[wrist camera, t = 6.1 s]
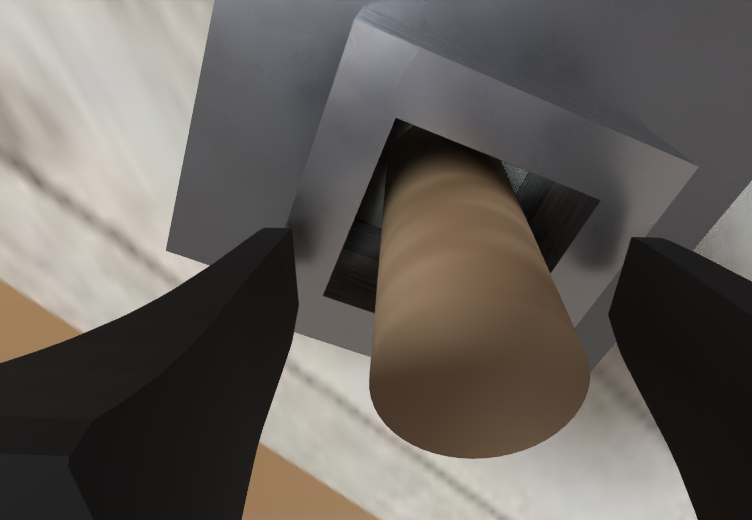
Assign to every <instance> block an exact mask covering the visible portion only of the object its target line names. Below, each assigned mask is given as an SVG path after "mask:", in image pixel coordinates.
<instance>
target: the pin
mask: <svg viewBox="0 0 752 520" xmlns="http://www.w3.org/2000/svg"><path fill="white" fill-rule="evenodd" d="M589 380H590V369H589V363H588V359H587V355H586V353H585V351H584V348H583V346H582V344H581V342H580V339H579V337H578V335H577V333H576V330H575V328H574V326H573V324H572V321H571V319H570V317H569V315H568V312H567V310H566V308H565V306H564V303H563V301H562V299H561V297H560V294H559V292H558V290H557V288H556V285H555V283H554V281H553V279H552V276H551V274H550V272H549V270H548V267H547V265H546V263H545V261H544V258H543V256H542V254H541V252H540V249H539V247H538V245H537V242H536V240H535V238H534V236H533V233H532V231H531V229H530V227H529V224H528V222H527V220H526V218H525V215H524V213H523V211H522V209H521V206H520V204H519V202H518V200H517V197H516V195H515V193H514V191H513V188H512V186H511V184H510V182H509V179H508V177H507V175H506V173H505V170H504V168H503V166H502V164H501V161H500V159H497V158H495V157H492V156H490V155H487V154H485V153H482V152H480V151H477V150H475V149H472V148H470V147H468V146H465V145H463V144H460V143H458V142H455V141H453V140H450V139H448V138H445V137H443V136H440V135H438V134H435V133H433V132H430V131H428V130H425V129H423V128H420V127H418V126H415V125H414V126H413V127H411V128H410V129H409V130H407V131H406V132H405V133H404V134H403V135H402V136H401V137H400V138H399V139H398V141H397V142H396V143H395V145H394V147H393V149H392V151H391V153H390V156H389V159H388V163H387V172H386V184H385V196H384V208H383V220H382V232H381V244H380V256H379V268H378V280H377V292H376V305H375V317H374V329H373V341H372V353H371V365H370V377H369V389H370V395H371V399H372V402H373V405H374V408H375V409H376V411H377V413H378V415H379V417H380V418H381V419H382V420H383V422H384V423H385V424H386V425H387V426H388V427H389V428H390V429H391V430H392V431H393V432H394V433H395V434H397V435H398V436H399V437H401V438H402V439H403V440H405V441H407V442H409V443H410V444H412V445H414V446H416V447H419V448H421V449H423V450H426V451H429V452H432V453H435V454H440V455H444V456H449V457H456V458H471V459H475V458H491V457H499V456H504V455H508V454H513V453H516V452H519V451H522V450H525V449H528V448H530V447H533V446H535V445H537V444H539V443H541V442H543V441H545V440H547V439H548V438H550V437H551V436H553V435H554V434H556V433H557V432H558V431H560V430H561V429H562V428H563V427H564V426H566V425H567V423H568V422H569V421H570V420H571V419H572V418H573V417H574V416H575V414H576V413H577V412H578V410H579V409H580V407H581V405H582V403H583V401H584V399H585V397H586V394H587V391H588V388H589Z"/></svg>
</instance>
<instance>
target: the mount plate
mask: <svg viewBox="0 0 752 520" xmlns="http://www.w3.org/2000/svg"><path fill="white" fill-rule="evenodd" d="M395 118H398V119H400V120H403V121H405V122H408V123H410V124H413V125H415V126H418V127H420V128H423V129H425V130H428V131H430V132H433V133H435V134H438V135H440V136H443V137H445V138H448V139H450V140H453V141H455V142H458V143H460V144H463V145H465V146H468V147H470V148H472V149H475V150H477V151H480V152H482V153H485V154H487V155H490V156H492V157H495V158H497V159H500V160H502V161H505V162H507V163H510V164H512V165H515V166H517V167H520V168H522V169H525V170H527V171H529V173H528V175H527V176H526V178H525V180H524V182H523V183H522V185H521V187H520V188H519V190H518V192H517V194H516V197H517V200H518V202H519V204H520V206H521V209H522V211H523V213H524V215H525V218H526V220H527V222H528V224H529V227H530V229H531V231H532V233H533V236H534V238H535V240H536V242H537V245H538V247H539V249H540V252H541V254H542V256H543V258H544V261H545V263H546V265H547V267H548V270H549V272H550V274H551V276H552V279H553V281H554V283H555V285H556V288H557V290H558V292H559V294H560V297H561V299H562V301H563V303H564V306H565V308H566V310H567V312H568V315H569V317H570V319H571V321H572V324H573V326H574V328H575V330H576V333H577V335H578V337H579V339H580V342H581V344H582V346H583V348H584V351H585V353H586V355H587V359H588V363H589V369H590V372H591V371H592V369H593V368H594V367H595V366H596V365H597V363H598V362H599V361H600V360H601V359H602V357H603V356H604V355H605V354H606V353H607V351H608V350H609V349H610V348H611V347H612V346H613V344H614V343H615V342H616V339H615V336H614V333H613V330H612V326H611V323H610V320H609V317H608V313H609V310H610V306H611V303H612V300H613V296H614V293H615V290H616V286H617V283H618V280H619V276H620V273H621V270H622V266H623V263H624V260H625V256H626V253H627V250H628V246H629V243H630V240H631V237H654V238H663V239H666V240H669V241H671V242H674V243H676V244H678V245H681V246H683V247H685V248H687V249H689V250H691V251H692V250H693V249H694V248H695V247H696V246H697V245H698V243H699V242H700V241H701V240H702V239H703V237H704V236H705V235H706V234H707V233H708V231H709V230H710V229H711V228H712V227H713V226H714V224H715V223H716V222H717V221H718V220H719V218H720V217H721V216H722V215H723V214H724V212H725V211H726V210H727V209H728V208H729V207H730V205H731V204H732V203H733V202H734V201H735V199H736V198H737V197H738V196H739V195H740V193H741V192H742V191H743V190H744V189H745V188H746V186H747V185H748V184H749V183H750V182H751V180H752V0H215V2H214V7H213V12H212V17H211V22H210V27H209V33H208V38H207V43H206V48H205V53H204V58H203V63H202V68H201V73H200V79H199V84H198V89H197V94H196V99H195V104H194V109H193V114H192V120H191V125H190V130H189V135H188V140H187V145H186V150H185V155H184V161H183V166H182V171H181V176H180V181H179V186H178V191H177V196H176V201H175V207H174V212H173V217H172V222H171V227H170V232H169V237H168V242H167V248H166V251H169V252H172V253H175V254H178V255H181V256H184V257H187V258H190V259H193V260H196V261H198V262H201V263H204V264H207V265H212V264H213V263H215V262H216V261H217V260H219V259H220V258H222V257H223V256H224V255H226V254H227V253H229V252H230V251H231V250H233V249H234V248H235V247H237V246H238V245H239V244H241V243H242V242H244V241H245V240H246V239H248V238H249V237H250V236H252V235H253V234H255V233H256V232H258V231H259V230H261V229H263V228H292V235H293V246H294V256H295V267H296V278H297V289H298V300H299V308H298V314H297V319H296V325H295V330H294V332H296V333H299V334H302V335H305V336H308V337H311V338H314V339H317V340H320V341H324V342H327V343H330V344H333V345H336V346H339V347H342V348H345V349H348V350H351V351H354V352H357V353H361V354H364V355H367V356H370V357H371V353H372V341H373V329H374V317H375V305H376V292H377V280H378V268H379V256H380V244H381V232H382V230H381V229H378V228H375V227H373V226H370V225H367V224H364V223H362V222H359V221H356V220H354V218H355V216H356V213H357V211H358V208H359V206H360V204H361V201H362V199H363V196H364V194H365V191H366V189H367V187H368V184H369V182H370V179H371V177H372V174H373V172H374V169H375V167H376V165H377V162H378V160H379V157H380V155H381V152H382V150H383V148H384V145H385V143H386V140H387V138H388V135H389V133H390V130H391V128H392V126H393V123H394V121H395Z"/></svg>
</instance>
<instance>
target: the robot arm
mask: <svg viewBox="0 0 752 520" xmlns="http://www.w3.org/2000/svg"><path fill="white" fill-rule="evenodd" d="M298 308H299V300H298V289H297V278H296V267H295V256H294V246H293V235H292V228H263V229H261V230H259V231H258V232H256V233H255V234H253V235H252V236H250V237H249V238H248V239H246V240H245V241H244V242H242V243H241V244H239V245H238V246H237V247H235V248H234V249H233V250H231V251H230V252H229V253H227V254H226V255H224V256H223V257H222V258H220V259H219V260H217V261H216V262H215V263H213V264H212V265H210V266H209V267H207V268H206V269H204V270H203V271H201V272H200V273H198V274H197V275H195V276H194V277H192V278H190V279H189V280H187V281H186V282H184V283H183V284H181V285H180V286H178V287H176V288H175V289H173V290H172V291H170V292H168V293H166V294H165V295H163V296H161V297H159V298H158V299H156V300H154V301H152V302H150V303H148V304H147V305H145V306H143V307H141V308H139V309H137V310H135V311H133V312H131V313H129V314H127V315H125V316H123V317H121V318H119V319H116V320H114V321H111V322H109V323H107V324H104V325H102V326H100V327H97V328H95V329H93V330H90V331H88V332H86V333H83V334H81V335H79V336H76V337H74V338H72V339H69V340H66V341H64V342H61V343H58V344H56V345H53V346H50V347H47V348H45V349H42V350H39V351H36V352H33V353H30V354H27V355H24V356H21V357H18V358H15V359H12V360H9V361H6V362H3V363H0V520H241V519H242V515H243V510H244V505H245V500H246V496H247V491H248V486H249V482H250V477H251V473H252V468H253V464H254V460H255V455H256V450H257V447H258V443H259V440H260V436H261V433H262V430H263V426H264V423H265V421H266V418H267V415H268V412H269V409H270V406H271V403H272V400H273V397H274V394H275V391H276V389H277V386H278V383H279V380H280V377H281V374H282V371H283V368H284V365H285V362H286V359H287V356H288V353H289V350H290V347H291V344H292V340H293V335H294V330H295V325H296V319H297V314H298ZM608 317H609V320H610V323H611V326H612V330H613V333H614V336H615V339H616V342H617V345H618V347H619V350H620V353H621V355H622V357H623V359H624V362H625V364H626V366H627V368H628V370H629V371H630V373H631V375H632V377H633V379H634V381H635V383H636V385H637V387H638V389H639V391H640V393H641V395H642V397H643V399H644V401H645V402H646V404H647V406H648V408H649V410H650V412H651V414H652V416H653V418H654V420H655V422H656V424H657V425H658V427H659V429H660V431H661V433H662V435H663V437H664V439H665V441H666V443H667V445H668V447H669V449H670V451H671V453H672V455H673V458H674V460H675V462H676V464H677V466H678V469H679V472H680V474H681V477H682V479H683V482H684V484H685V487H686V490H687V492H688V495H689V497H690V500H691V503H692V505H693V508H694V510H695V513H696V516H697V519H698V520H752V282H751V281H749V280H747V279H745V278H744V277H742V276H740V275H738V274H736V273H734V272H732V271H730V270H728V269H726V268H724V267H722V266H720V265H718V264H717V263H715V262H713V261H711V260H709V259H707V258H705V257H703V256H701V255H699V254H697V253H695V252H693V251H691V250H689V249H687V248H685V247H683V246H681V245H678V244H676V243H674V242H671V241H669V240H666V239H663V238H654V237H631V240H630V243H629V246H628V250H627V253H626V256H625V260H624V263H623V266H622V270H621V273H620V276H619V280H618V283H617V286H616V290H615V293H614V296H613V300H612V303H611V306H610V310H609V313H608Z"/></svg>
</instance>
